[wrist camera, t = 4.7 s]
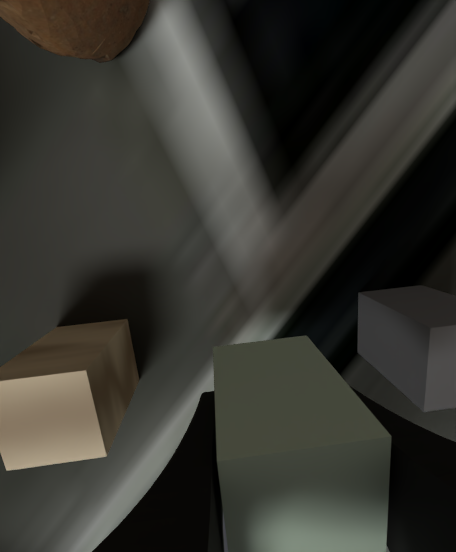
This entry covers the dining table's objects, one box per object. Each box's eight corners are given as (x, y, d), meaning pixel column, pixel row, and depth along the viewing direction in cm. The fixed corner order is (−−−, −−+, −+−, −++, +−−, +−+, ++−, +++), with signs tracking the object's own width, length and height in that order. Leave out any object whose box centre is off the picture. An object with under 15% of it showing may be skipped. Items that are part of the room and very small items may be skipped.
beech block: (139, 379, 18) (106, 456, 12) (72, 388, 18) (6, 470, 12) (127, 318, 17) (86, 370, 11) (56, 326, 17) (-24, 383, 11)
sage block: (309, 416, 14) (385, 565, 8) (222, 428, 13) (233, 590, 8) (306, 335, 13) (391, 436, 7) (212, 346, 12) (216, 461, 7)
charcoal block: (417, 344, 19) (509, 400, 13) (357, 352, 19) (423, 412, 13) (421, 284, 18) (522, 316, 12) (358, 292, 18) (430, 328, 12)
